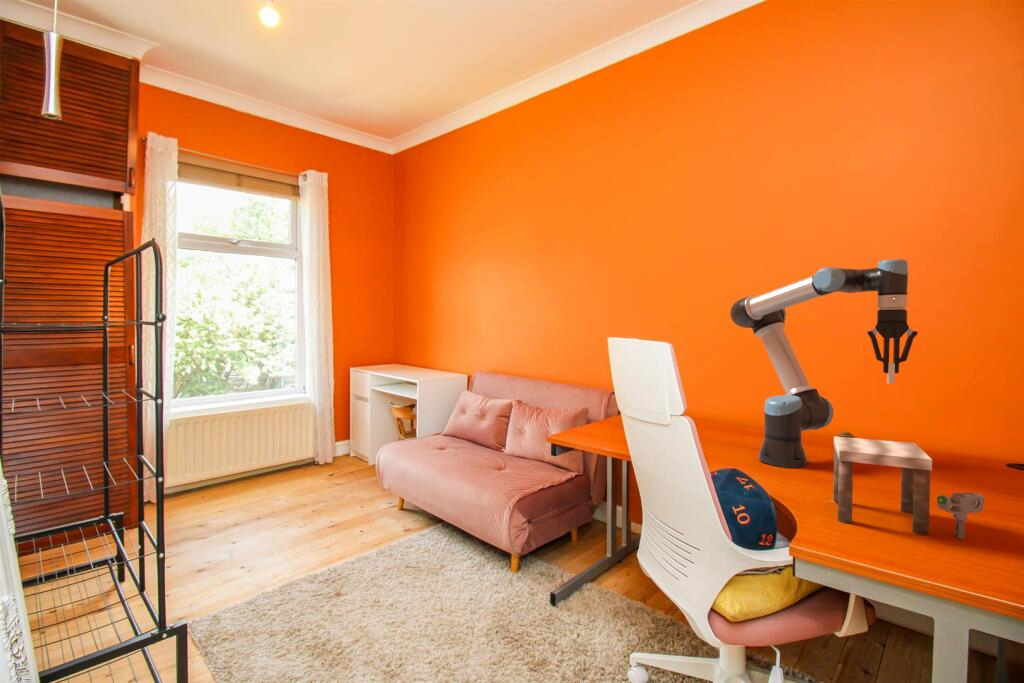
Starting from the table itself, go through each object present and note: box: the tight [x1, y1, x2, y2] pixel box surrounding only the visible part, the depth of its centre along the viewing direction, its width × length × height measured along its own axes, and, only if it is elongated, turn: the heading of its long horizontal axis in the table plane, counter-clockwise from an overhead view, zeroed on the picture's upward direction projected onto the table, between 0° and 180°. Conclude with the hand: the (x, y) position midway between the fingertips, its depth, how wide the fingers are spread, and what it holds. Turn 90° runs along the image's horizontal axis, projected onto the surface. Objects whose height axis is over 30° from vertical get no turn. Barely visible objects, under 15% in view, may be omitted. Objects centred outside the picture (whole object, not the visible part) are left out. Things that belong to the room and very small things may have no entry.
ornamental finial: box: [833, 430, 856, 448], centre depth 192 cm, size 8×8×8 cm
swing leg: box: [832, 447, 839, 503], centre depth 137 cm, size 10×3×15 cm, turn 62°
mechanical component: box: [936, 492, 985, 540], centre depth 115 cm, size 3×10×10 cm, turn 95°
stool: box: [833, 435, 933, 536], centre depth 128 cm, size 18×18×18 cm
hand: (890, 383), depth 159 cm, fingers closed
